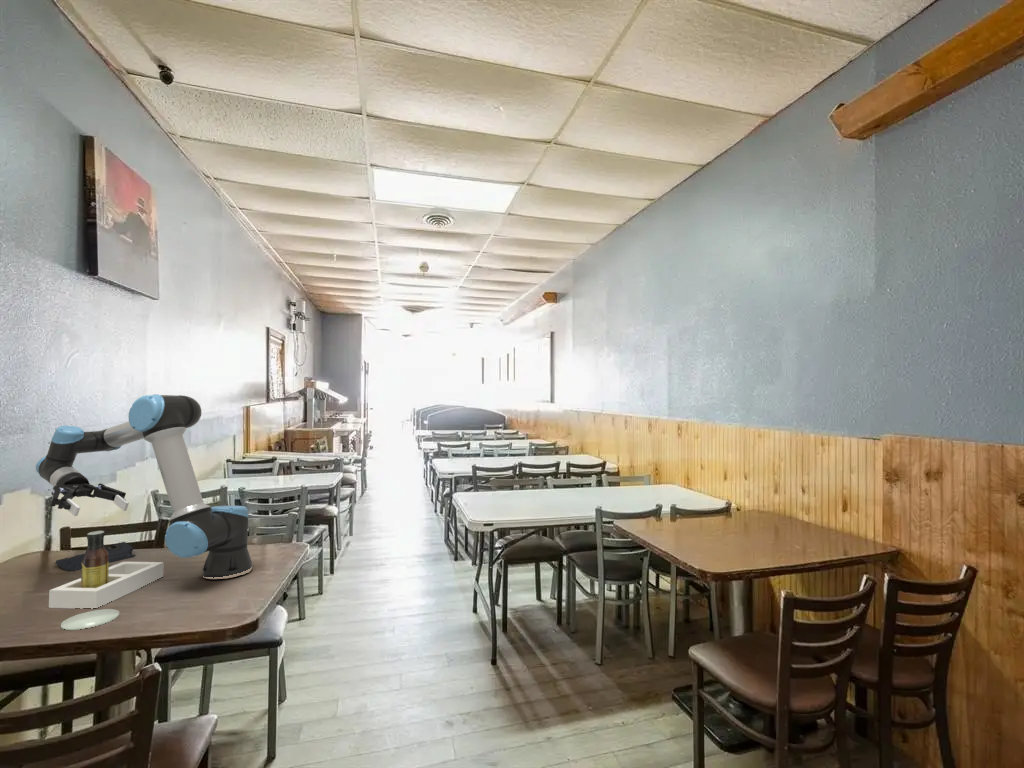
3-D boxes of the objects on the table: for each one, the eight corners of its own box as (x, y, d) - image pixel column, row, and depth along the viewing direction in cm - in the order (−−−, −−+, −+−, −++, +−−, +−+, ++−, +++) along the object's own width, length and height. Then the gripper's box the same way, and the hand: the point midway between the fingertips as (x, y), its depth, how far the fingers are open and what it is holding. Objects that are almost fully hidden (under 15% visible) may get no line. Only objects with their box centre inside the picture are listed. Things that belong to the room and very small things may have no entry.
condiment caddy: (163, 577, 166) (163, 562, 166) (95, 608, 140) (96, 591, 140) (123, 576, 166) (123, 561, 166) (48, 607, 141) (49, 590, 141)
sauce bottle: (91, 594, 150) (94, 529, 151) (113, 594, 151) (115, 529, 152) (74, 603, 144) (77, 534, 145) (97, 602, 144) (99, 534, 145)
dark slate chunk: (48, 567, 176) (49, 553, 177) (119, 551, 196) (120, 539, 196) (68, 574, 170) (69, 560, 170) (140, 556, 189) (141, 544, 189)
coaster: (130, 611, 139) (130, 609, 139) (92, 630, 127) (92, 628, 127) (89, 610, 139) (89, 608, 139) (47, 629, 127) (47, 627, 127)
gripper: (108, 489, 176) (141, 515, 168) (17, 495, 154) (50, 525, 145) (115, 470, 176) (148, 494, 168) (25, 473, 153) (58, 502, 145)
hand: (102, 509), depth 156 cm, fingers open, 13 cm apart
